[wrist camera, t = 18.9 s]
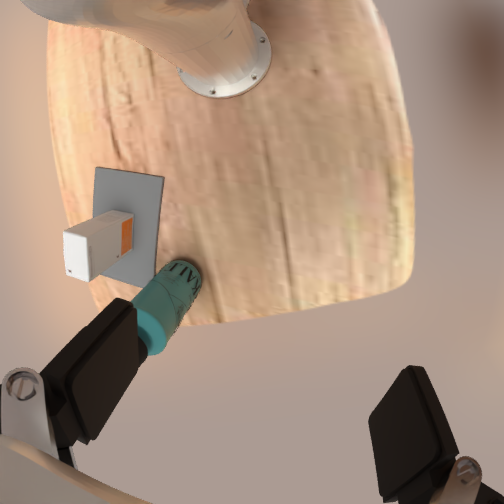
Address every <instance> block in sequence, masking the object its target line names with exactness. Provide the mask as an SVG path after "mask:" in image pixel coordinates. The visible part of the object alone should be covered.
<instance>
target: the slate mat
mask: <svg viewBox="0 0 504 504" xmlns="http://www.w3.org/2000/svg"><path fill="white" fill-rule="evenodd" d="M163 185H164V177H160V176H154V175H148V174H142V173H135V172H129V171H122V170H115V169H108V168H101V167H96V168H95V180H94V196H93V218H94V217H96V216H99V215H101V214H103V213H106V212H108V211H111V210H116V211H121V212H126V213H131V214H134V223H133V245H132V246H133V250H132V251H131V252H130V253H128V254H127V255H126V256H124V257H123V258H121V259H120V260H119V261H117V262H116V263H114V264H113V265H112V266H110V267H109V268H108V269H106V270H105V271H104V272H102V273H101V274H100V275H103V276H106V277H109V278H112V279H115V280H118V281H121V282H124V283H127V284H131V285H134V286H137V287H140V288H144V287H145V286H146V285H147V284H148V283H149V282H150V281H151V279H152V278H153V277H155V268H156V253H157V240H158V229H159V219H160V209H161V201H162V192H163ZM149 280H150V281H149Z"/></svg>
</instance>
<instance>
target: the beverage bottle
mask: <svg viewBox="0 0 504 504" xmlns="http://www.w3.org/2000/svg"><path fill="white" fill-rule="evenodd" d="M165 265H166V264H165ZM165 265H164V266H165ZM161 269H162V268H161ZM149 281H150V280H149ZM201 286H202V283H201V277H200V274H199V272H198V271H197V269H196V268H195V267H194V266H193V265H192V264H190V263H188V262H186V261H182V260H176V261H175V260H173V261H172V262H170V263H168V264H167V265H166V266H165V267H164V268H163V269H162V270H161V271H160V272H159V273H158V274H157V275H156V276H155V277H153V278H152V279H151V281H150V282H149V283H148V284H147V285H146V286H145V287H144V288H143V289H142V290H141V291H140V292H139V293H138V294H137V295H136V296H135V297H134V298H133V300H132V301H131V302H132V303H133V306H134V308H136V309H137V321H138V353H139V367H140V365H141V364H142V363H143V362H144V361H145V360H146V358H147V356H149V355H156V354H159V353H160V352H162V351H163V350H164V348H165V347H166V344H167V342H168V341H169V339H170V337H171V336H172V335H173V333H175V330H176V328H177V326H179V325H180V324H181V323H180V321H181V320H183V317H184V315H185V313H186V312H187V310H189V309H190V307H191V306H190V305H191V303H192V302H194V301H193V300H194V299H195V297H197V296H196V295H198V292H199V290H200V288H201ZM192 304H193V303H192ZM188 308H189V309H188ZM181 322H182V321H181ZM179 323H180V324H179Z"/></svg>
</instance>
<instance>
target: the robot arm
mask: <svg viewBox="0 0 504 504" xmlns="http://www.w3.org/2000/svg"><path fill="white" fill-rule="evenodd" d="M21 2H22V3H23V4H24V5H25V6H26V7H28V8H29V9H30V10H31V11H33V12H35V13H36V14H38V15H40V16H42V17H44V18H47V19H49V20H53V21H56V22H59V23H63V24H67V25H72V26H79V27H85V28H94V29H101V30H108V31H112V32H116V33H119V34H121V35H124V36H126V37H129V38H131V39H133V40H134V41H136V42H138V43H140V44H142V45H143V46H145V47H147V48H148V49H150V50H152V51H153V52H155V53H157V54H158V55H160V56H161V57H163V58H165V59H166V60H168V61H169V62H171V63H173V64H174V65H176V68H177V71H178V74H179V76H180V78H181V80H182V81H183V83H184V84H185V85H186V86H187V87H188V88H190V89H191V90H192V91H194V92H195V93H197V94H199V95H202V96H205V97H209V98H215V99H225V98H230V97H235V96H238V95H241V94H243V93H245V92H247V91H249V90H250V89H252V88H253V87H254V86H256V85H257V84H258V83H259V82H260V81H261V80H262V78H263V77H264V76H265V74H266V73H267V71H268V69H269V66H270V63H271V56H272V51H271V45H270V41H269V39H268V37H267V35H266V33H265V32H264V31H263V30H262V28H261V27H260V26H258V25H257V24H256V23H254V22H253V21H251V20H249V17H248V12H247V11H246V9H247V6H248V5H249V2H250V0H21ZM262 41H265V42H264V43H261V42H262ZM184 71H185V72H184ZM253 77H257V78H256V79H255V80H253ZM214 91H216V93H215V94H213V92H214ZM138 368H139V353H138V321H137V309H136V308H134V306H133V303H132V302H129V301H126V300H124V299H121V298H115V299H114V300H113V301H112V302H111V303H110V304H109V305H108V306H107V307H106V308H105V309H104V310H103V311H102V312H101V313H100V314H99V315H98V316H96V318H94V320H93V321H91V322H90V323H89V325H88V326H85V327H84V328H83V329H82V330H81V331H80V332H79V333H78V334H77V335H76V336H75V337H74V338H73V339H72V340H71V341H70V342H69V343H68V344H67V345H66V346H65V347H64V348H63V349H62V350H61V351H60V352H59V353H58V354H57V355H56V356H55V357H54V358H53V360H52V361H51V362H50V363H49V364H48V365H47V366H46V367H45V368H44V369H43V370H42V371H41V372H40V373H37V372H36V371H35V370H33V369H30V368H24V367H21V368H16V369H14V370H11V371H10V372H9V373H8V374H7V375H6V376H5V377H4V379H3V382H2V384H0V504H152V503H150V502H147V501H144V500H141V499H139V498H136V497H134V496H131V495H129V494H126V493H124V492H122V491H119V490H117V489H115V488H112V487H110V486H108V485H106V484H104V483H102V482H100V481H98V480H96V479H93V478H91V477H90V476H88V475H86V474H83V473H82V472H80V471H78V468H77V465H76V461H75V457H74V453H73V449H72V446H73V445H74V443H75V442H76V440H78V441H80V442H82V443H84V444H86V445H88V443H89V441H90V440H95V439H96V438H97V437H98V435H99V433H100V432H101V430H102V428H103V427H104V425H105V423H106V422H107V420H108V418H109V417H110V415H111V413H112V412H113V410H114V409H115V407H116V405H117V404H118V402H119V400H120V399H121V397H122V396H123V394H124V392H125V391H126V389H127V388H128V386H129V384H130V383H131V381H132V379H133V378H134V376H135V375H136V373H137V371H138ZM368 423H369V429H370V435H371V440H372V446H373V452H374V459H375V465H376V472H377V478H378V487H379V493H380V495H381V496H382V497H383V503H388V502H396V501H397V500H398V503H399V504H504V497H503V496H502V495H501V494H499V493H498V492H496V491H495V490H493V489H491V488H490V487H488V486H487V485H485V484H484V483H482V482H481V480H482V470H481V467H480V465H479V464H478V462H477V461H476V460H474V459H473V458H471V457H469V456H463V457H460V458H459V459H457V460H456V459H455V456H457V455H458V454H459V450H458V448H457V445H456V442H455V439H454V437H453V434H452V432H451V429H450V426H449V424H448V421H447V419H446V416H445V414H444V411H443V409H442V406H441V404H440V402H439V400H438V397H437V395H436V393H435V390H434V388H433V386H432V384H431V381H430V379H429V377H428V375H427V373H426V371H425V369H424V367H421V366H412V365H409V366H407V367H406V368H405V369H403V370H402V371H401V372H400V374H399V375H398V377H397V378H396V380H395V381H394V383H393V384H392V386H391V387H390V388H389V390H388V391H387V393H386V394H385V396H384V397H383V398H382V400H381V401H380V402H379V404H378V405H377V407H376V408H375V409H374V411H373V412H372V413H371V415H370V417H369V421H368Z"/></svg>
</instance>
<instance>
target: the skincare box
mask: <svg viewBox="0 0 504 504" xmlns="http://www.w3.org/2000/svg"><path fill="white" fill-rule="evenodd" d="M133 223H134V214H131V213H126V212H121V211H116V210H111V211H108V212H106V213H103V214H101V215H99V216H96V217H94V218H92V219H89V220H87V221H85V222H83V223H80V224H78V225H76V226H73V227H71V228H69V229H67V230H64V231H63V242H64V249H63V251H64V259H65V268H66V275H69V276H71V277H74V278H77V279H80V280H83V281H86V282H90V281H91V280H93V279H94V278H95V277H97V276H98V275H99V274H101V273H102V272H104V271H105V270H106V269H108V268H109V267H110V266H112V265H113V264H114V263H116V262H117V261H119V260H120V259H121V258H123V257H124V256H126V255H127V254H128V253H130V252H131V251H132V250H133V246H132V245H133Z"/></svg>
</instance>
